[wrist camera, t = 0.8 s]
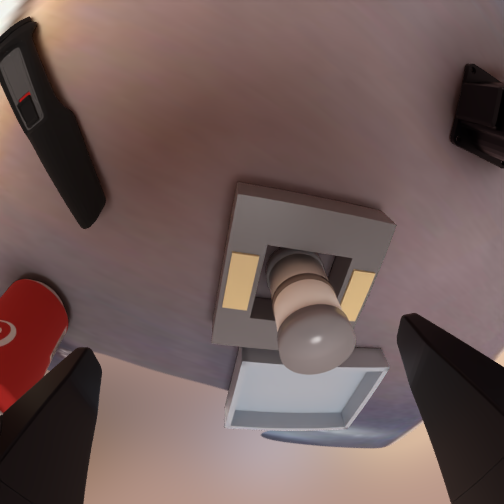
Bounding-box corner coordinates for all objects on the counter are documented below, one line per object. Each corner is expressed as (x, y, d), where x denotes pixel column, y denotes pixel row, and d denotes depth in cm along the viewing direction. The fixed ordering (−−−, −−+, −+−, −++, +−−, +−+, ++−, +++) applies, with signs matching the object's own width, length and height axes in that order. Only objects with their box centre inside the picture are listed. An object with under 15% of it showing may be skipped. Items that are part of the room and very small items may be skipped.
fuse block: (381, 210, 21) (398, 226, 19) (333, 333, 26) (341, 356, 24) (237, 181, 20) (237, 194, 17) (212, 321, 25) (211, 345, 22)
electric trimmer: (83, 221, 21) (65, 241, 18) (0, 46, 14) (-26, 45, 11) (124, 199, 20) (109, 217, 17) (37, 13, 13) (12, 7, 10)
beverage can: (36, 259, 21) (-48, 364, 11) (86, 315, 24) (31, 434, 13) (4, 291, 23) (-64, 385, 12) (49, 340, 25) (-1, 441, 15)
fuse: (328, 248, 22) (367, 322, 15) (312, 295, 24) (339, 375, 17) (272, 239, 22) (291, 315, 15) (260, 289, 23) (271, 372, 16)
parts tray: (380, 348, 27) (390, 367, 25) (342, 411, 32) (347, 429, 30) (241, 339, 26) (242, 361, 23) (224, 407, 30) (224, 427, 28)
